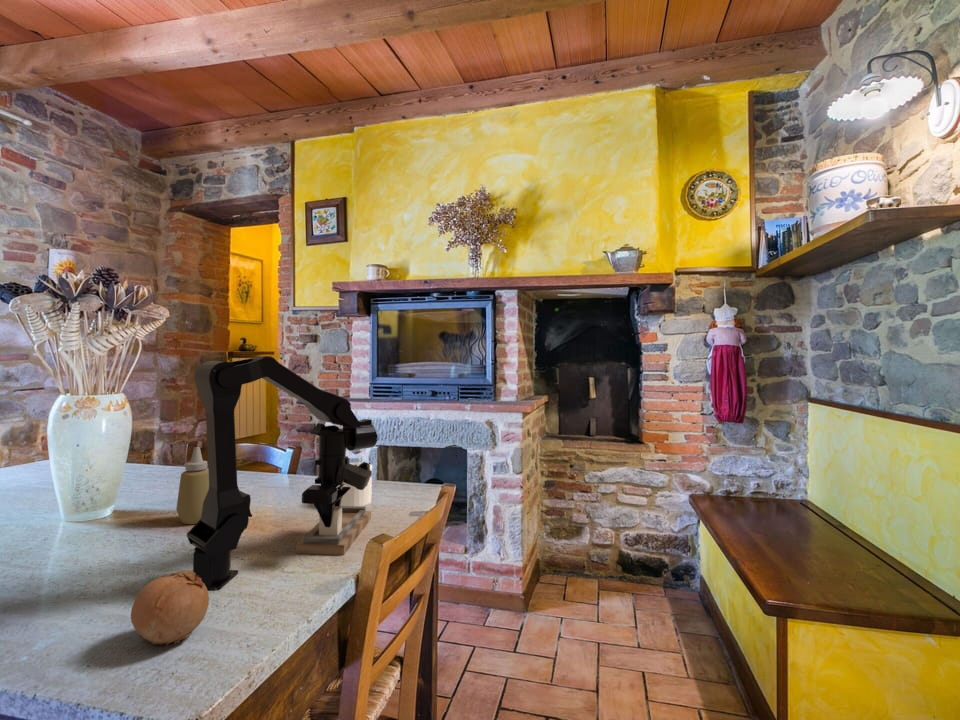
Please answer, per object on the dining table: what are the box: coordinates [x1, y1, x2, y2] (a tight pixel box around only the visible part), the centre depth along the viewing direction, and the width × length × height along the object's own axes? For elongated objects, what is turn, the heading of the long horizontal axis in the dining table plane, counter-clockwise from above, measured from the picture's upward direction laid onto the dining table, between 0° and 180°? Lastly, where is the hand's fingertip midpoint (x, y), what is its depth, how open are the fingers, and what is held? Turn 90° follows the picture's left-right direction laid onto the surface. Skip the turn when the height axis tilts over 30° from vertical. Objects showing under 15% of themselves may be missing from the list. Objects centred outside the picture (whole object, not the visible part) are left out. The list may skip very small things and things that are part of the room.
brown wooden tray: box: [295, 506, 372, 556], centre depth 110 cm, size 22×10×3 cm, turn 179°
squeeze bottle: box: [175, 446, 209, 525], centre depth 116 cm, size 8×8×18 cm
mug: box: [340, 462, 373, 507], centre depth 135 cm, size 13×10×10 cm
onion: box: [130, 570, 210, 646], centre depth 69 cm, size 10×9×10 cm
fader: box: [318, 507, 342, 536], centre depth 105 cm, size 3×4×6 cm
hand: (330, 524), depth 105 cm, fingers closed on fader, 3 cm apart
